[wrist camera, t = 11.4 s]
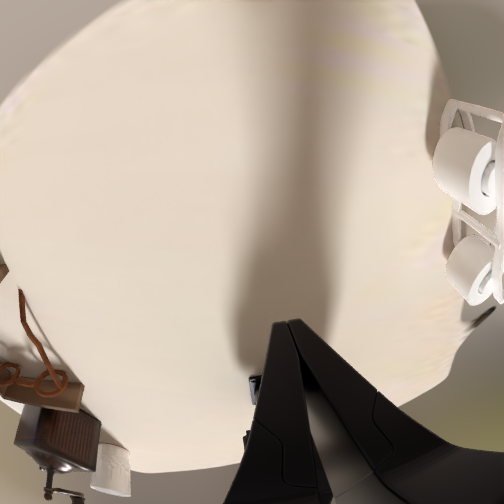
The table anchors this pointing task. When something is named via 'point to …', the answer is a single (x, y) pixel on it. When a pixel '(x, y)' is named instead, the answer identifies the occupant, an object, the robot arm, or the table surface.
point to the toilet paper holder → (473, 199)
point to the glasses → (50, 369)
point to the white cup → (112, 471)
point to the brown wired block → (40, 387)
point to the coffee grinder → (59, 443)
